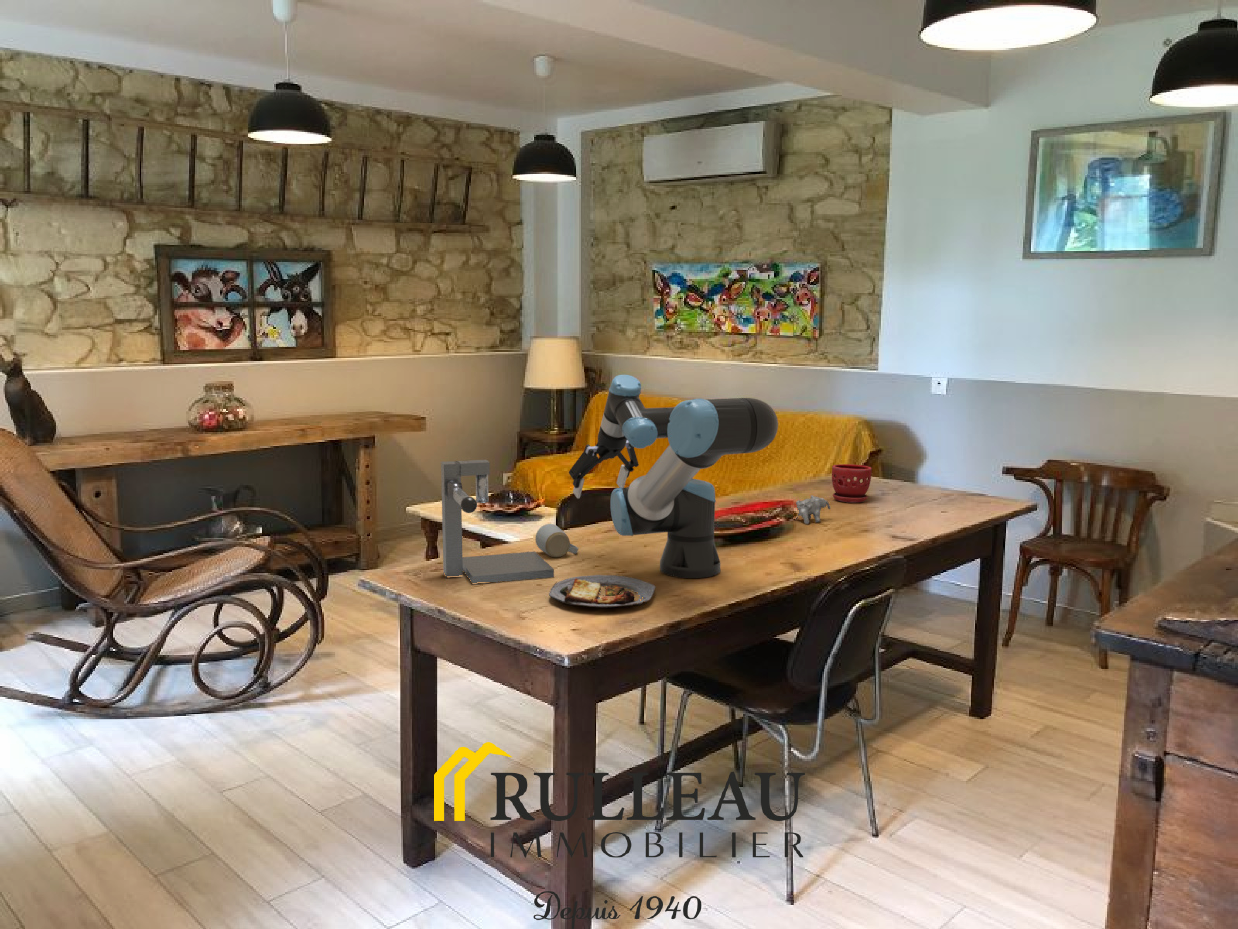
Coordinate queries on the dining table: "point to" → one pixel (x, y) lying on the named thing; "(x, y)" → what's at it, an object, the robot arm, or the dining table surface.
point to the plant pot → (851, 482)
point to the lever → (461, 497)
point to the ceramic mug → (554, 541)
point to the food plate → (588, 589)
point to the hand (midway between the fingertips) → (598, 490)
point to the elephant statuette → (811, 508)
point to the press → (453, 562)
